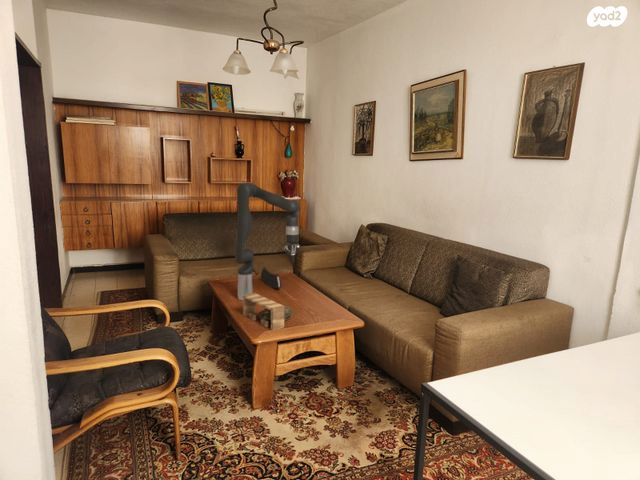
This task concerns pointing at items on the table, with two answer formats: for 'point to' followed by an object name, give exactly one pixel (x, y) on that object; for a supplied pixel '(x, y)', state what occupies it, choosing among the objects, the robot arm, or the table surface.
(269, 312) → the turtle shell
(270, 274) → the magazine
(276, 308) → the oak overhang
